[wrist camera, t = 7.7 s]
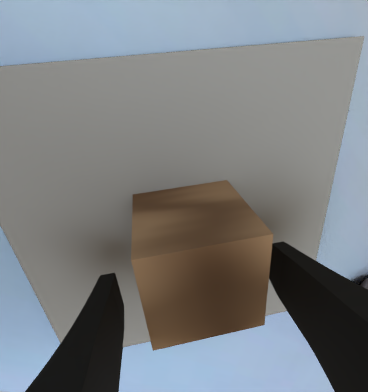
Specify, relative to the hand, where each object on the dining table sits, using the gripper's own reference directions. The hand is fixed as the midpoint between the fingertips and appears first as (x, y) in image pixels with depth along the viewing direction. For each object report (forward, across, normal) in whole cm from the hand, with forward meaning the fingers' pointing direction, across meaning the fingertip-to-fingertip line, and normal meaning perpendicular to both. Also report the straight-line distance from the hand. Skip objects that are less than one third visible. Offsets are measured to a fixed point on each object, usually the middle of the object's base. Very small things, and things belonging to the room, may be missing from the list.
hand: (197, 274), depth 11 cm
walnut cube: (+3, 0, 0) cm, 3 cm away
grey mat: (+4, 0, 0) cm, 4 cm away
